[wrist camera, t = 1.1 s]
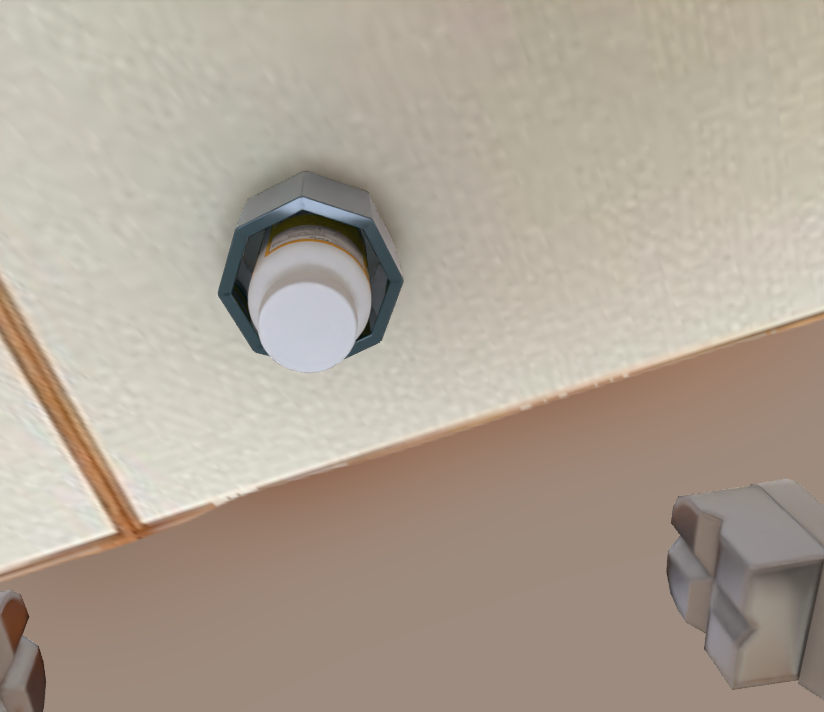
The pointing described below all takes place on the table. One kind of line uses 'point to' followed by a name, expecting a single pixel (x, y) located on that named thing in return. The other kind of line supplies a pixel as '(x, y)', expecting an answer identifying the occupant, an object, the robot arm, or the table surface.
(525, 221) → the table surface
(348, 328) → the supplement bottle
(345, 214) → the holder
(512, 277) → the table surface
